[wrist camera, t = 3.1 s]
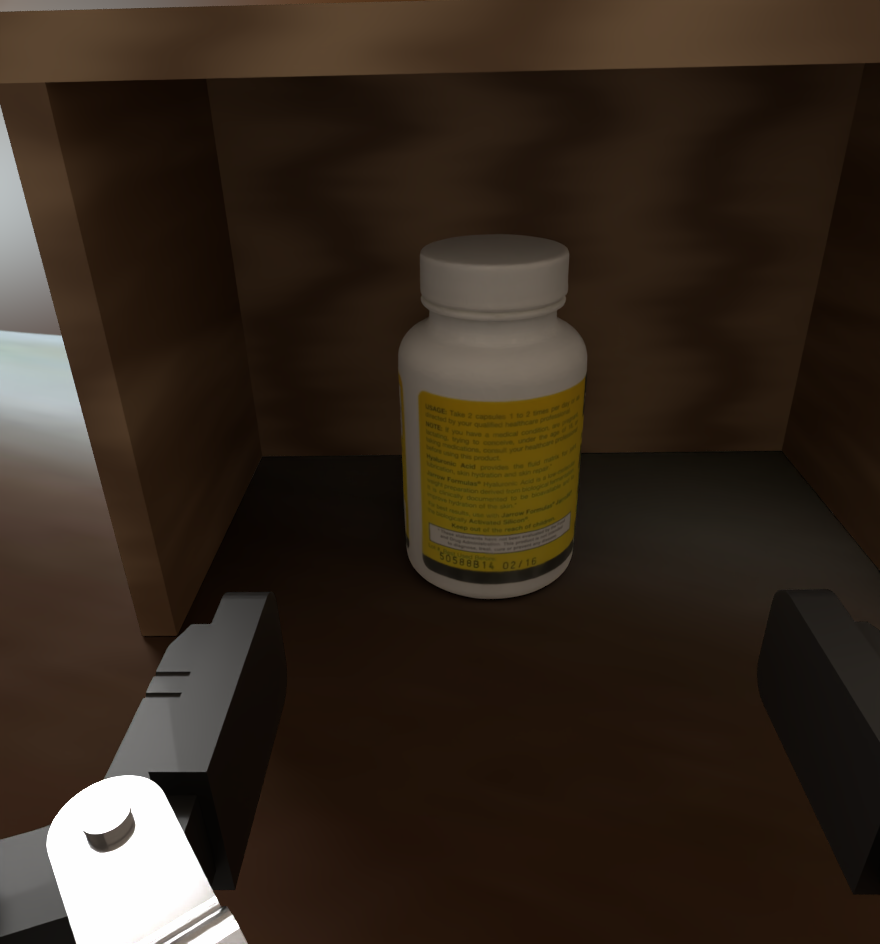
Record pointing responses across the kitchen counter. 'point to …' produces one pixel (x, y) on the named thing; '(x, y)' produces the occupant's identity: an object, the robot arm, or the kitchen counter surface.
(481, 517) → the supplement bottle
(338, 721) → the kitchen counter surface
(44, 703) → the kitchen counter surface
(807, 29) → the cubby
